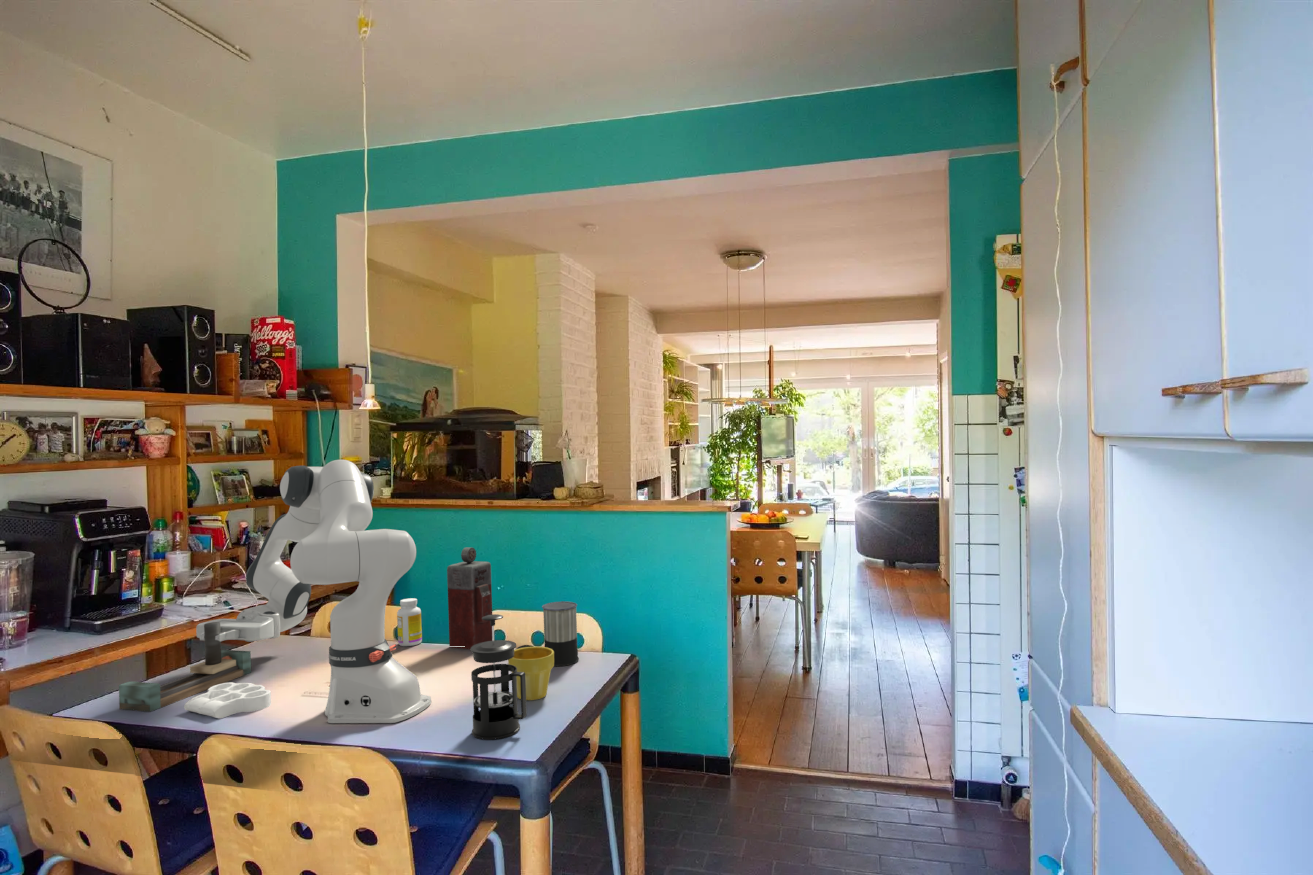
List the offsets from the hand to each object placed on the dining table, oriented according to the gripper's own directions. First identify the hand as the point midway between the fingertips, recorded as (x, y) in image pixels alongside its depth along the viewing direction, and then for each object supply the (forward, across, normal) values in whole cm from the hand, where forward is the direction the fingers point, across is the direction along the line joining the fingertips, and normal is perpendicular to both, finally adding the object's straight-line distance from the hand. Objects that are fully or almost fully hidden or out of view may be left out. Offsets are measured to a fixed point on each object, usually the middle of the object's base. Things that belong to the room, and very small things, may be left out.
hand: (209, 637), depth 182 cm
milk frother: (-29, +78, +11) cm, 85 cm away
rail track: (+6, 0, +11) cm, 13 cm away
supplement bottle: (-39, +31, +11) cm, 51 cm away
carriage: (-1, 0, +8) cm, 8 cm away
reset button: (-5, 0, +9) cm, 10 cm away
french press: (+15, +88, +11) cm, 90 cm away
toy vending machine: (-41, +51, +11) cm, 66 cm away
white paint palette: (+13, +20, +12) cm, 27 cm away
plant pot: (-5, +86, +11) cm, 87 cm away
